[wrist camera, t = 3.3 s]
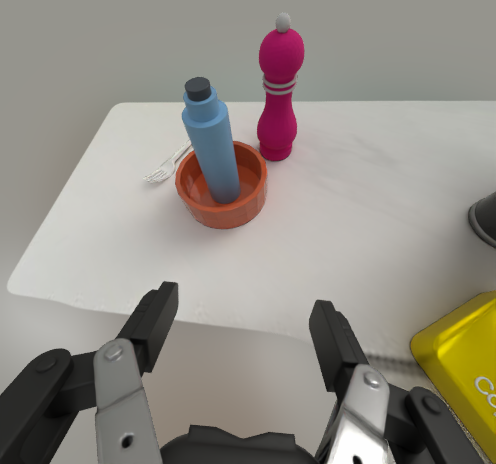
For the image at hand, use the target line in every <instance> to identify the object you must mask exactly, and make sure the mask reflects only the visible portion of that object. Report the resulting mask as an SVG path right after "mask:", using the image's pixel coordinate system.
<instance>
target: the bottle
mask: <svg viewBox="0 0 496 464" xmlns="http://www.w3.org/2000/svg"><path fill="white" fill-rule="evenodd" d="M185 90H186V92H185V93H184V96H183V99H184V102H185V105H186V107H185V109H184V110H183V112H182V120H183V123H184V125H185V128H186V131H187V133H188V136H189V138H190V141H191V144H192V146H193V149H194V152H195V154H196V157H197V160H198V162H199V165H200V167H201V170H202V173H203V175H204V178H205V181H206V183H207V186H208V189H209V191H210V194H211V196H212V198H213V200H215V201H216V202H218V203H221V204H228V203H231V202H233V201H235V200H236V199H237V198H238V197H239V195H240V191H241V189H240V183H239V177H238V171H237V164H236V158H235V152H234V146H233V140H232V134H231V127H230V121H229V115H228V109H227V106H226V104H225V103H224V102H222V101H220V100H218V98H217V93H216V90H215V89H214V88H213V87H212V86H210V82H209V80H208V79H206V78H203V77H196V78H193V79H191V80H189V81H187V82H186V84H185Z"/></svg>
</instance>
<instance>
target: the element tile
mask: <svg viewBox="0 0 496 464" xmlns="http://www.w3.org/2000/svg"><path fill="white" fill-rule="evenodd" d="M411 350H412V353H413V356H414V357H415V359H416V361H417V362H418V364H419V365H420V366H421V368H422V369H423V370H424V372H425V373H426V374H427V376H428V377H429V378H430V380H431V381H432V382H433V384H434V385H435V386H436V388H437V389H438V390H439V392H440V393H441V394H442V396H443V397H444V398H445V400H446V401H447V402H448V404H449V405H450V406H451V408H452V409H453V411H454V412H455V413H456V415H457V416H458V417H459V419H460V420H461V421H462V423H463V424H464V425H465V427H466V428H467V429H468V431H469V432H470V433H471V435H472V436H473V437H474V439H475V440H476V441H477V443H478V444H479V445H480V447H481V448H482V449H483V451H484V452H485V453H486V455H487V456H488V458H489V459H490V460H491V462H492V463H493V464H496V290H495V291H490V292H484V293H481V294H479V295H478V296H476V297H474V298H473V299H471V300H470V301H468V302H467V303H465V304H463V305H462V306H460V307H459V308H457V309H455V310H454V311H452V312H451V313H449V314H448V315H446V316H444V317H443V318H441V319H440V320H438V321H436V322H435V323H433V324H432V325H430V326H429V327H427V328H425V329H424V330H422V331H421V332H419V333H417V334H416V335H415V336H414V337H413V339H412V341H411Z"/></svg>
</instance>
